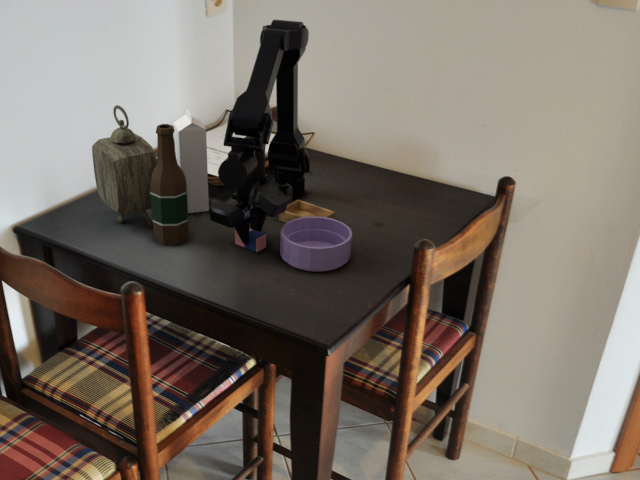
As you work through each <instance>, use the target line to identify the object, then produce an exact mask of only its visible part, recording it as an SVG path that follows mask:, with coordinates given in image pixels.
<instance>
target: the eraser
mask: <svg viewBox="0 0 640 480" xmlns="http://www.w3.org/2000/svg"><path fill="white" fill-rule="evenodd" d="M234 244H235V245H238V246H240V247H242V248H244V249H247V250H249V251H252V252H255V253H258V252H261V251H262V250H264V249H266V248H267V234H266V233H265V232H262V231H261V232H259V231H257V230H253V229H251V227H249V240H248V244H247V245H245V244H243V243H242V241H241V239H240V237H239V235H238V233H237V231H236V230H235V231H234Z"/></svg>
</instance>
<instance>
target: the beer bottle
mask: <svg viewBox="0 0 640 480" xmlns="http://www.w3.org/2000/svg"><path fill="white" fill-rule="evenodd" d="M155 133H156V134H157V136H156V139H157V166H156V167H155V169H154V171H153V174H152V178H151V183H150V193H151V206H152V209H151V215H152V216H151V219H153V226H152V228H153V237H154V238H153V239H154V240H155V242H158V243H160V244H161V245H163V246H178V245H181V244H182V243H185V242H187V241H188V240H189V235H190V234H189V232H190V230H189V229H190V227H189V226H190V225H189V224H190V223H189V222H190V221H189V213H188V201H187V184H186V177H185V175H184V172H183V170H182V169H181V168H180V167H179V165H178V164H177V160H176V154H175V140H174V125H171V124H169V123H161V124H158V125H156V129H155Z"/></svg>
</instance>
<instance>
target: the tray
mask: <svg viewBox="0 0 640 480" xmlns="http://www.w3.org/2000/svg"><path fill="white" fill-rule="evenodd" d="M310 216H315V217H326V218H332V219H335V220H336V211H334V210H330V209H328V208H325V207H323V206H319V205H316V204H313V203H311V202H307V201H304V200H302V199H295V200H294V201H292V202H291V203H289V204H288V205H287V208H286V210H285V212H284V213H281V214H279V215H278V221H281V222H284V223H287V222H289V221H291V220H293V219H297V218H301V217H310Z"/></svg>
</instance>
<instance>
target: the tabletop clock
mask: <svg viewBox="0 0 640 480" xmlns="http://www.w3.org/2000/svg"><path fill="white" fill-rule="evenodd" d="M117 110H119V111H120V112H121V113H122V114H123V116H124V118H125V120H123V119H119V118H118V117H117ZM112 112H113V117H114V120H115V123H116V124H117V126H119V127H117V128H116V129H114V130H113V131H111V134H110V137H104V138H100V139H98V140H96V142H94V143H93V144H92V145H91V153H92V154H91V155H92V163H93V164H92V165H93V172H94V179H95V185H96V190H97V195H98V196H99V198H100V199H101V200H102V201H103V202H104V203H105V204H106V205H107V206H108V207H109V208H110V209H111V210H113V211H114V212H115V213H119V215H118V216H117V222H118V223H124V222H125V219H126V218H125V215H130V214H131V215H132V214H136V213H141V214H142V216H144V218H146V220H147V225H148V226H149V227H153V219H152V218H150V216H149V214H148V213H147V210H152V206H151V193H150V183H151V178H152V174H153V171H154V169H155V167H156V166H157V161H158V157H157V155H156V151H155V149H154V148H153V146H152V145H151V144H150V143H149V142H148V141H147V140H146V139H144V137H142V136H141V135H139V134H136V133H135V132H134V131H133V130H131V128H129V125H130V121H129V117H128V113H127V112H126V110H125V109H124V107H122V106H120V105H118V104H115V106H114V107H113V111H112ZM125 121H126V124H125Z"/></svg>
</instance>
